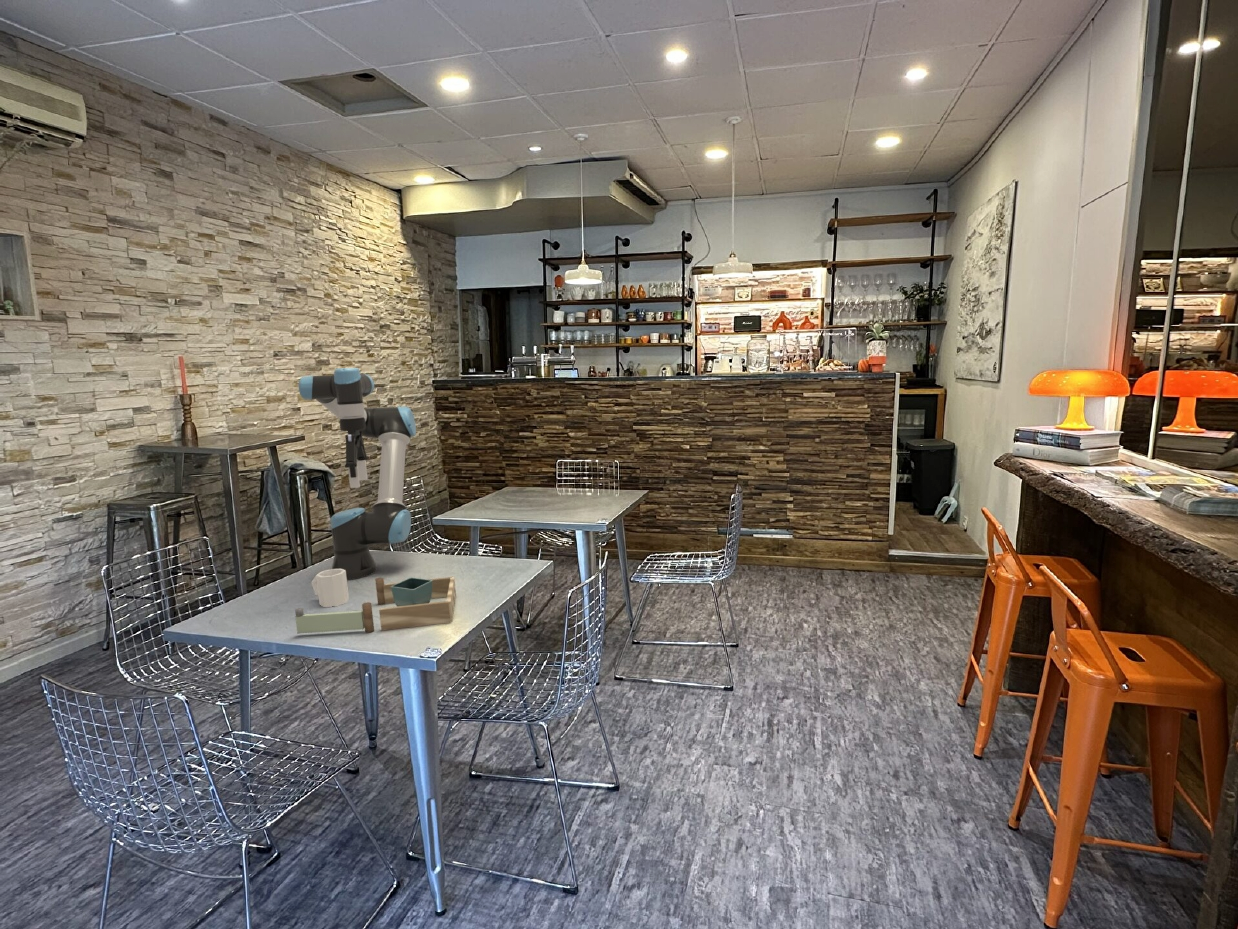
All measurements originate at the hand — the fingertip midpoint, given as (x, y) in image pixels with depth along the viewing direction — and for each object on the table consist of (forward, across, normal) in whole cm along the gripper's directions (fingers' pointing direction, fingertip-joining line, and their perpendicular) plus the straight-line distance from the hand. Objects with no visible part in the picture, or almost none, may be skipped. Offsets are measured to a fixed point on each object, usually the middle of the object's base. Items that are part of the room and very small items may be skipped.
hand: (359, 483), depth 207 cm
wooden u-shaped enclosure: (+37, +22, +16) cm, 46 cm away
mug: (+37, +4, -12) cm, 39 cm away
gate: (+36, +32, -6) cm, 48 cm away
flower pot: (+37, +22, +16) cm, 46 cm away
